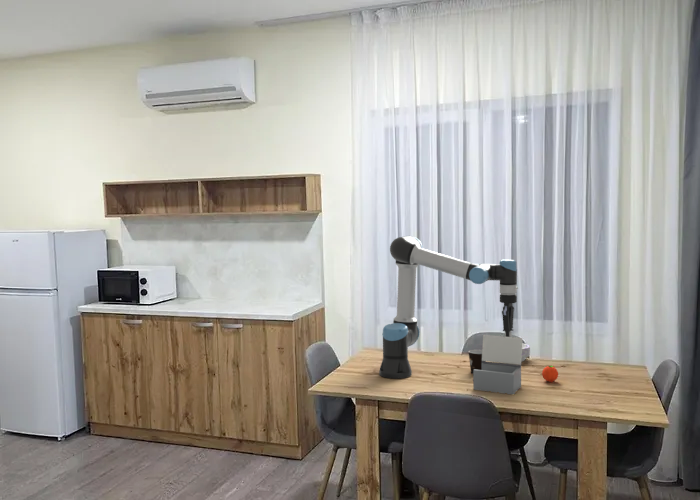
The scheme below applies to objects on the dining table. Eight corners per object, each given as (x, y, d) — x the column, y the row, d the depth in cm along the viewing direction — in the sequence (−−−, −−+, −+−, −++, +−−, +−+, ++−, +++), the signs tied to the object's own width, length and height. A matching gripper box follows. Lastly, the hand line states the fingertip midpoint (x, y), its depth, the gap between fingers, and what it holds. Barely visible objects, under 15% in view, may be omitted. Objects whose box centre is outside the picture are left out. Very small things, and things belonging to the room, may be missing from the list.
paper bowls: (533, 363, 310) (533, 348, 310) (503, 363, 310) (503, 348, 310) (525, 356, 325) (525, 341, 325) (496, 356, 326) (496, 341, 325)
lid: (483, 334, 277) (484, 334, 279) (481, 360, 276) (482, 360, 278) (521, 338, 269) (522, 337, 271) (520, 364, 268) (521, 364, 270)
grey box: (473, 389, 266) (473, 367, 265) (482, 381, 278) (482, 360, 277) (513, 394, 258) (513, 371, 257) (521, 386, 270) (521, 364, 269)
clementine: (547, 378, 283) (547, 362, 282) (562, 380, 278) (562, 365, 278) (539, 381, 277) (539, 365, 277) (553, 384, 272) (553, 368, 272)
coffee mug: (487, 375, 289) (487, 354, 288) (468, 374, 291) (468, 353, 290) (486, 369, 300) (486, 348, 300) (468, 368, 302) (468, 348, 301)
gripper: (512, 296, 274) (512, 348, 275) (519, 292, 285) (519, 343, 287) (496, 295, 277) (496, 347, 279) (503, 291, 289) (503, 341, 290)
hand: (508, 345), depth 283 cm, fingers closed
